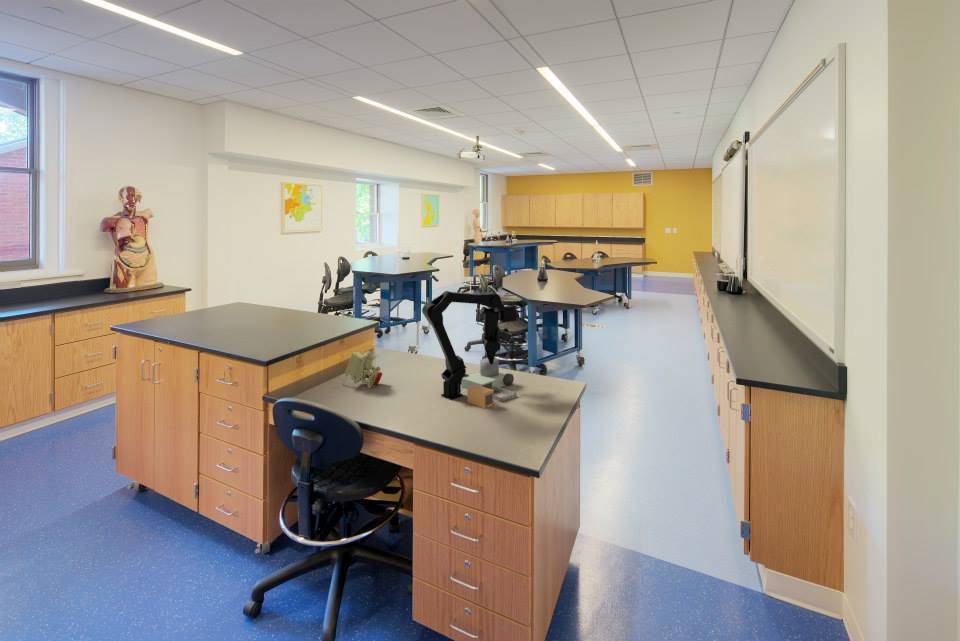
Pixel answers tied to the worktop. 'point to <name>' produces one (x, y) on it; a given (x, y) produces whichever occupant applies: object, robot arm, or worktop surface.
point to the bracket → (510, 393)
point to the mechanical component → (363, 369)
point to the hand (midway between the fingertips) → (490, 361)
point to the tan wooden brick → (480, 396)
